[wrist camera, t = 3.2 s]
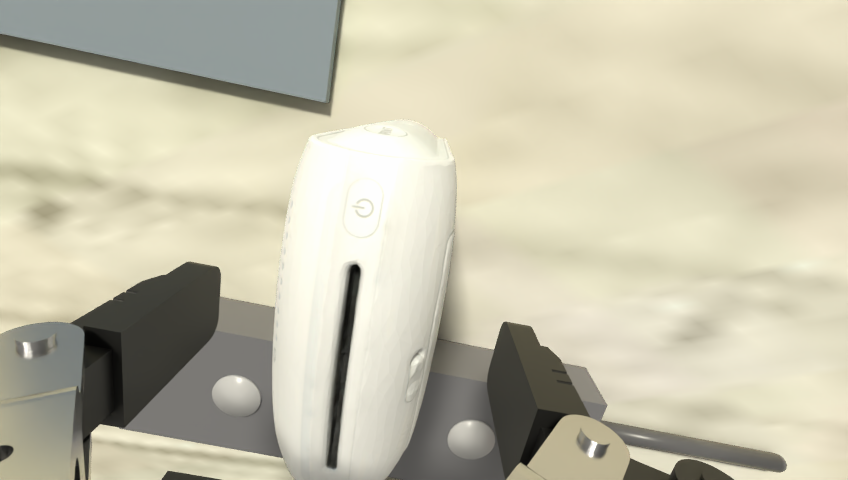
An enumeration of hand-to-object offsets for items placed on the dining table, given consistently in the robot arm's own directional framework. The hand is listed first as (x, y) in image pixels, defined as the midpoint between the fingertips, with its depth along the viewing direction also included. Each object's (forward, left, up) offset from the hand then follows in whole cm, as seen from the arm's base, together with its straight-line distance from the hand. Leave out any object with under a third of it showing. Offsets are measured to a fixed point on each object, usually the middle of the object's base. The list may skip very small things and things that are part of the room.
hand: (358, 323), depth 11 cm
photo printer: (0, 0, -10) cm, 10 cm away
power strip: (+9, +7, -10) cm, 15 cm away
